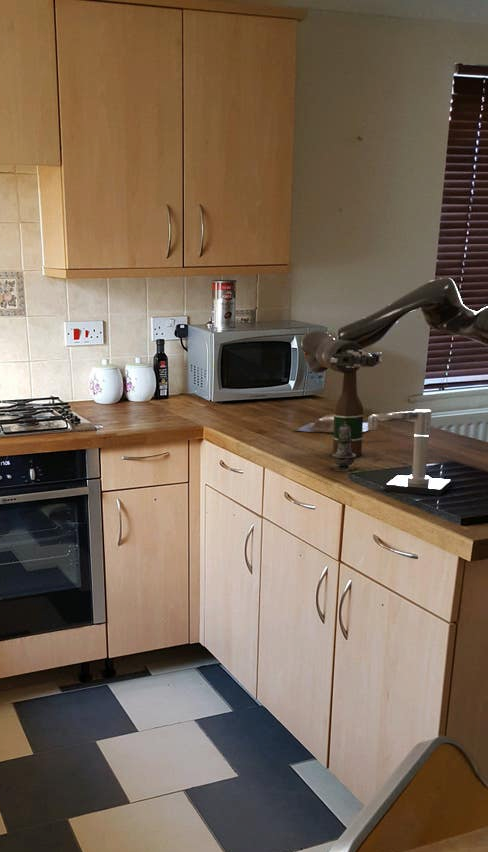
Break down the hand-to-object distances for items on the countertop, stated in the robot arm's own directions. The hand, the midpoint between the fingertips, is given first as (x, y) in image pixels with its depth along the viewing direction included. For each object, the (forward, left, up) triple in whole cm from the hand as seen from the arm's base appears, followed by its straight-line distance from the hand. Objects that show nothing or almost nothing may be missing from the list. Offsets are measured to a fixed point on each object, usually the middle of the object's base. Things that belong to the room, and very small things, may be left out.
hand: (371, 361), depth 193 cm
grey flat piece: (+32, -75, -28) cm, 86 cm away
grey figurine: (+10, -15, -28) cm, 33 cm away
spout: (-7, +2, -16) cm, 17 cm away
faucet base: (-12, -1, -28) cm, 30 cm away
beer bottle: (+15, -33, -28) cm, 46 cm away
